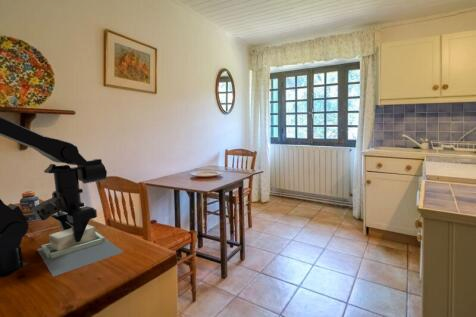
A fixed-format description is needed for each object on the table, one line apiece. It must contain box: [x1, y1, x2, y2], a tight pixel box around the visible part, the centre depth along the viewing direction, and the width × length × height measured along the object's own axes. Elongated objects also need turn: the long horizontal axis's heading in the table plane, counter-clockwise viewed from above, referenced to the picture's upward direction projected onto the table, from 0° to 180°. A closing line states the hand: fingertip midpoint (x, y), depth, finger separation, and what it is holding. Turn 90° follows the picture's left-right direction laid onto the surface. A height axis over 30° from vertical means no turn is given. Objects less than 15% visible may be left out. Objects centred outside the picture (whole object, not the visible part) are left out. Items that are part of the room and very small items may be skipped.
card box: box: [48, 223, 96, 251], centre depth 78 cm, size 10×6×4 cm, turn 144°
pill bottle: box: [19, 190, 40, 223], centre depth 106 cm, size 6×6×11 cm
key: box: [24, 225, 62, 238], centre depth 94 cm, size 6×1×15 cm
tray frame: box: [41, 230, 106, 259], centre depth 78 cm, size 9×14×1 cm, turn 134°
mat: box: [36, 238, 124, 278], centre depth 74 cm, size 22×16×1 cm
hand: (73, 239), depth 78 cm, fingers closed on card box, 5 cm apart
